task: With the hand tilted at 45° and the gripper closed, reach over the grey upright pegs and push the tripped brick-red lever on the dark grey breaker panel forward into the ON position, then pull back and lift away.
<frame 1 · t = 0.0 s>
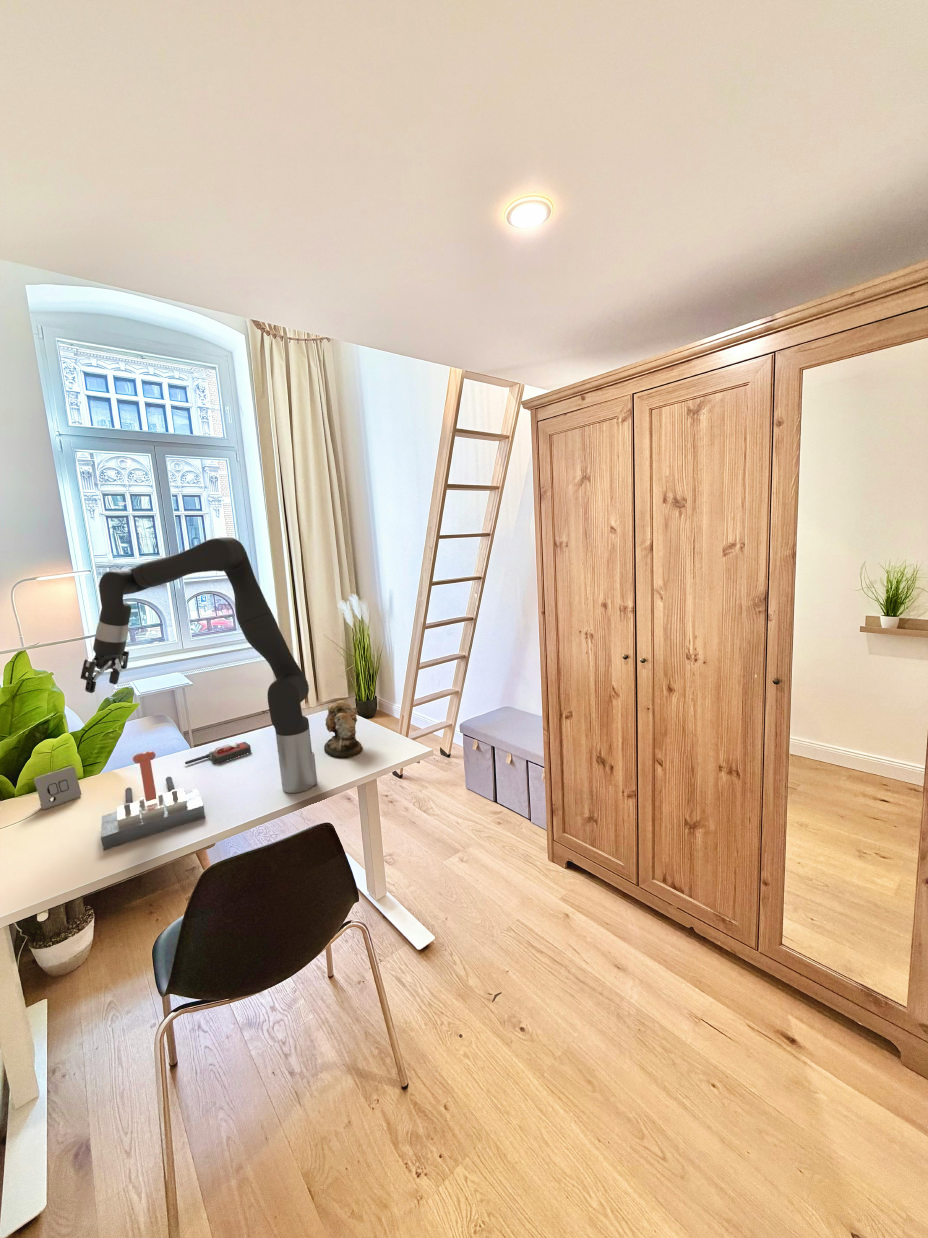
hand: (101, 687, 147), 31 cm above the table, tool tilted 20°, fingers open, 8 cm apart
electrical switch: (59, 802, 145), on the table
brown figurine: (342, 749, 172), on the table
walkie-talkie: (220, 760, 170), on the table
grey upright pegs: (150, 794, 144), on the table
breaker panel: (155, 823, 131), on the table
breaker lever: (147, 776, 130), point 13 cm above the table, hinge at -12.0°
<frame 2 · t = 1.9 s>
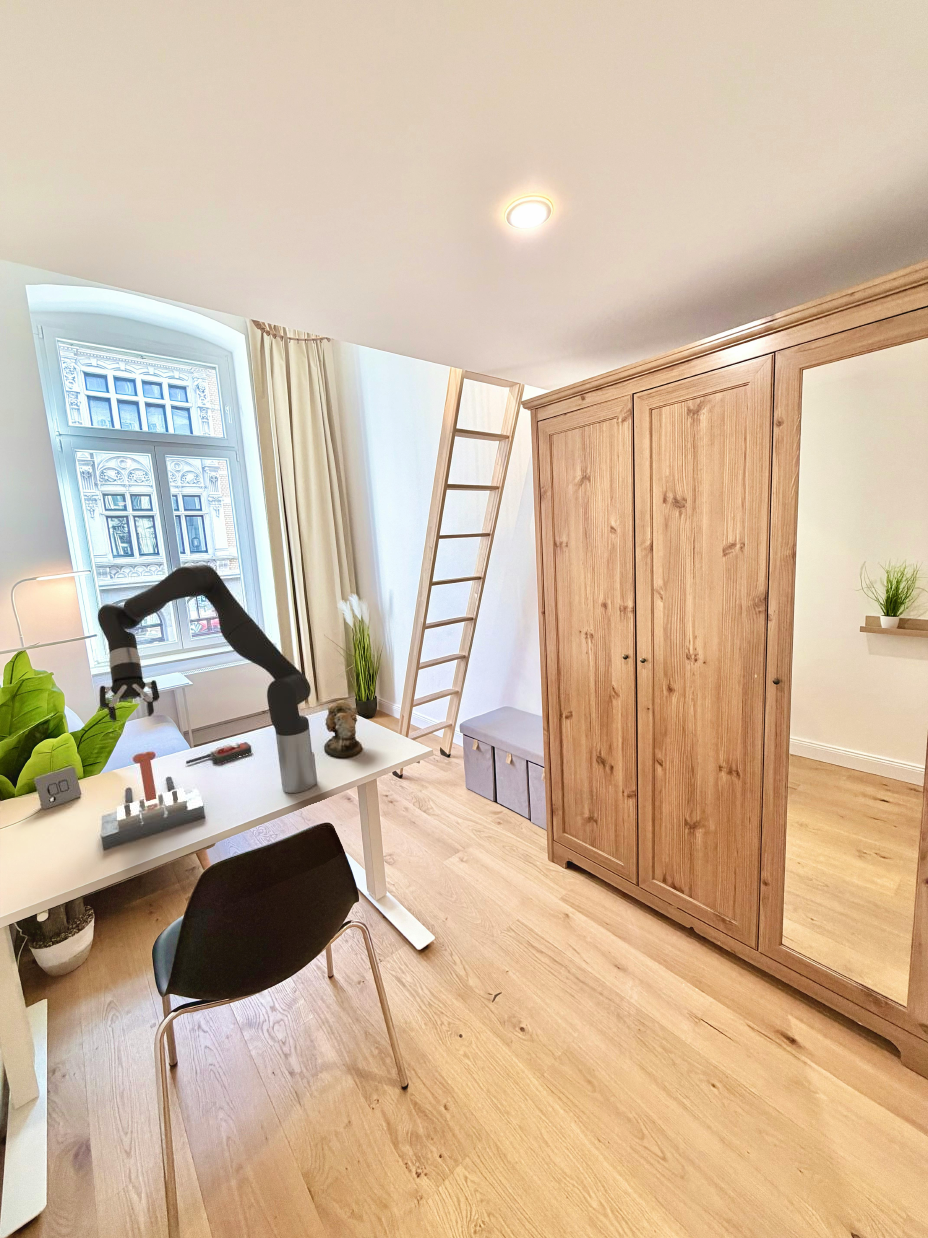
hand: (132, 718, 143), 23 cm above the table, tool tilted 30°, fingers open, 8 cm apart
nothing on the table moved.
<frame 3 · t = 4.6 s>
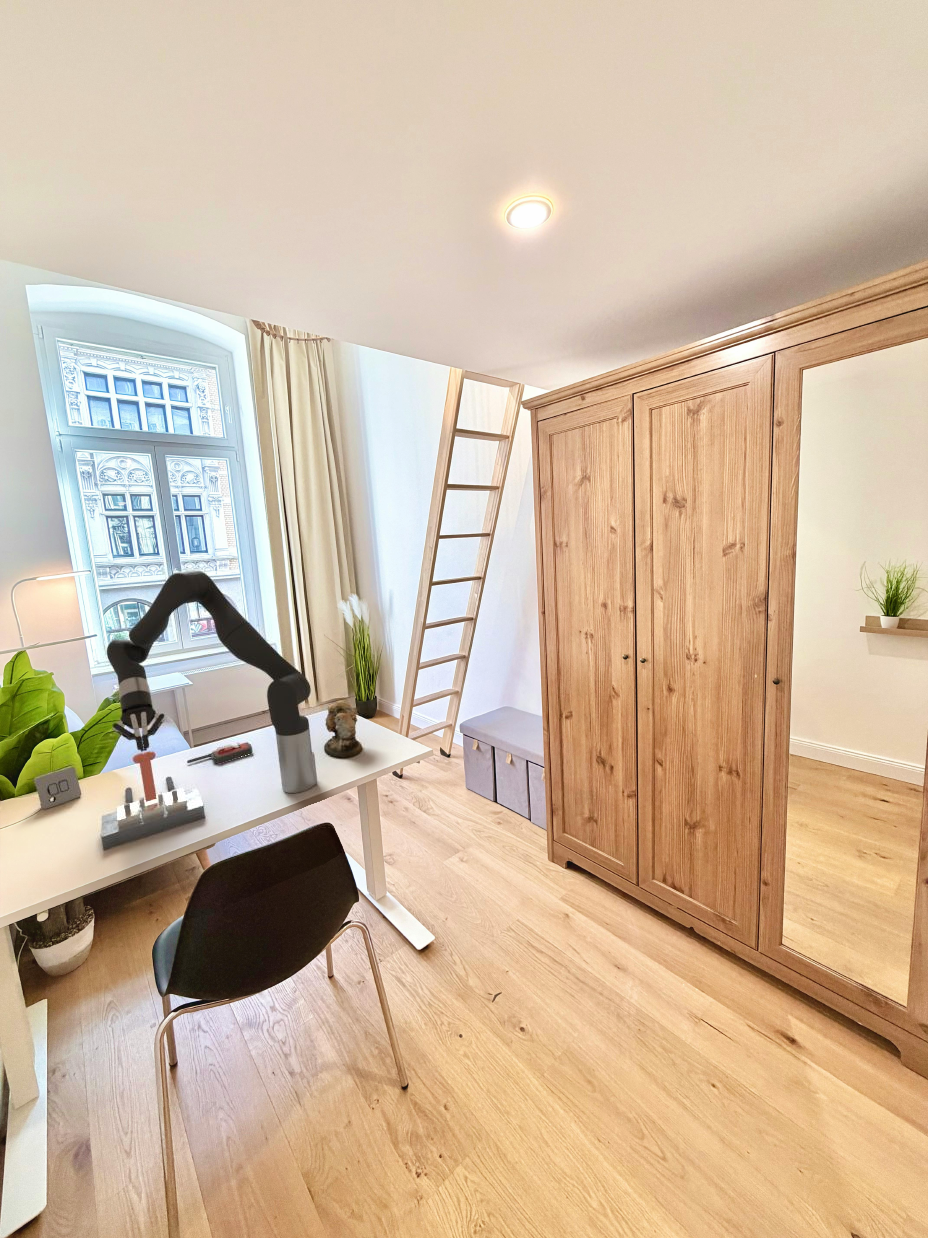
hand: (143, 749, 137), 17 cm above the table, tool tilted 45°, fingers closed
nothing on the table moved.
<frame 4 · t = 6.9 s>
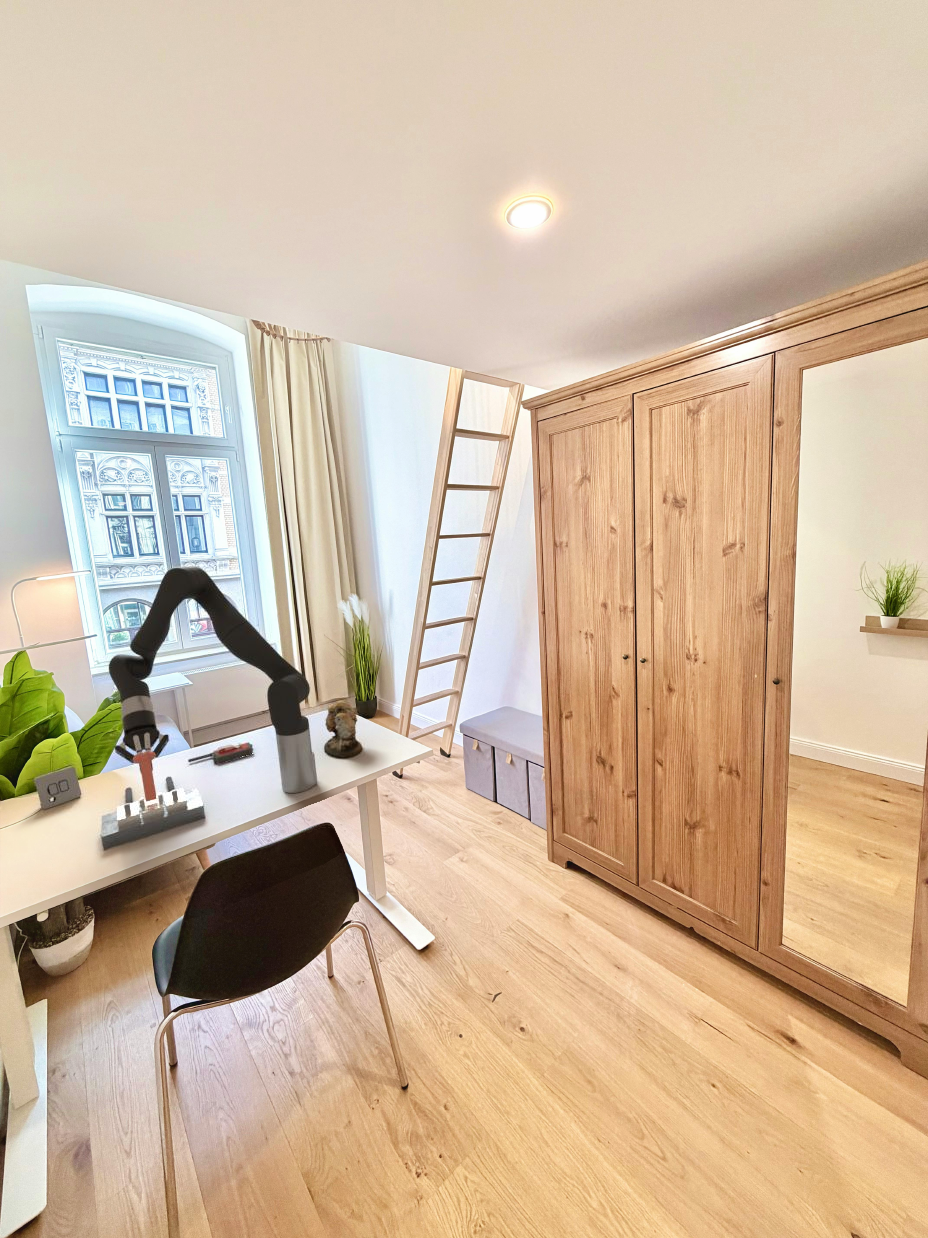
hand: (147, 773, 131), 13 cm above the table, tool tilted 45°, fingers closed
breaker lever: (147, 776, 130), point 13 cm above the table, hinge at -11.3°, touching gripper
everything else where it was.
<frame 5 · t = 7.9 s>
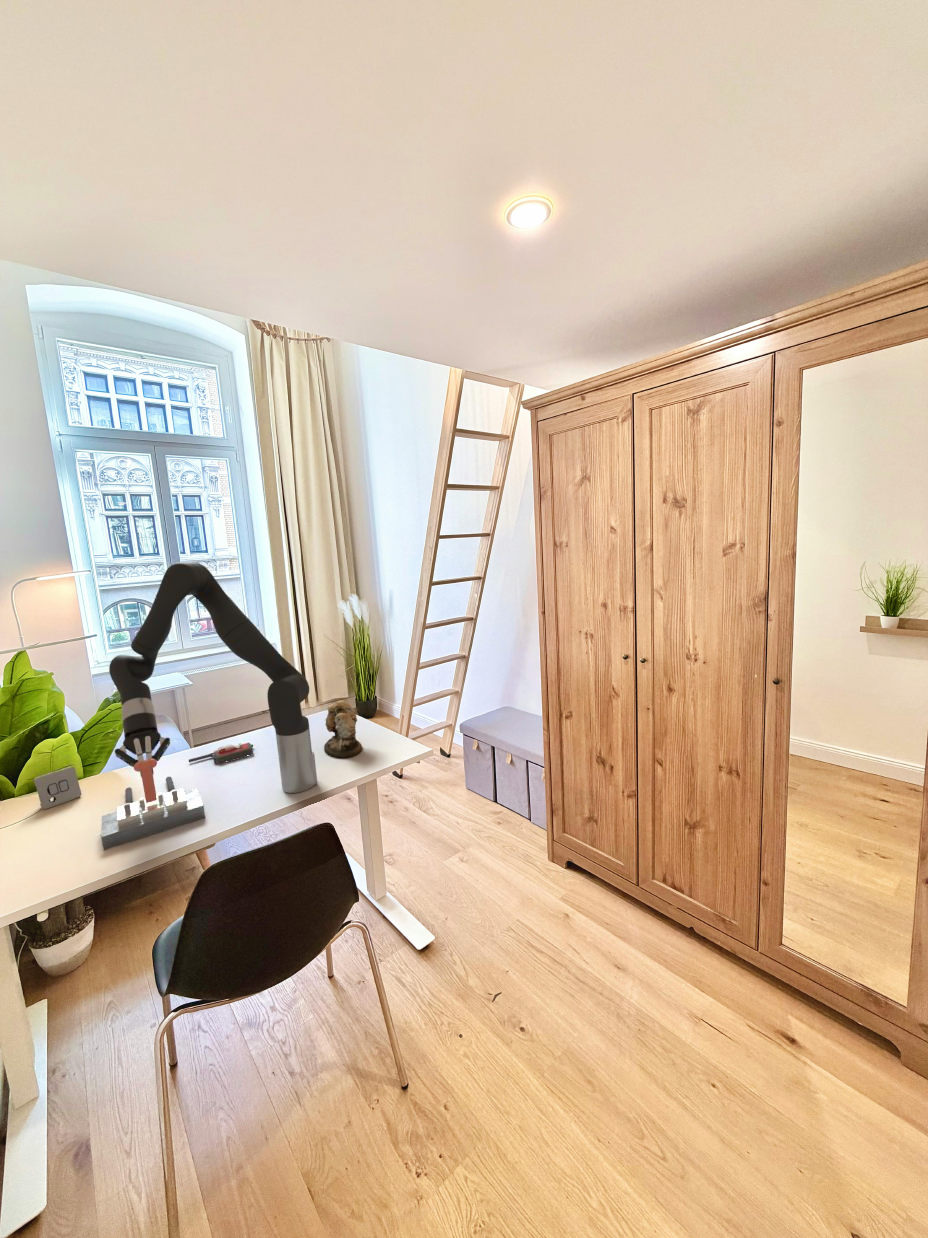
hand: (147, 777, 128), 13 cm above the table, tool tilted 45°, fingers closed
breaker lever: (148, 781, 127), point 12 cm above the table, hinge at 16.3°, touching gripper
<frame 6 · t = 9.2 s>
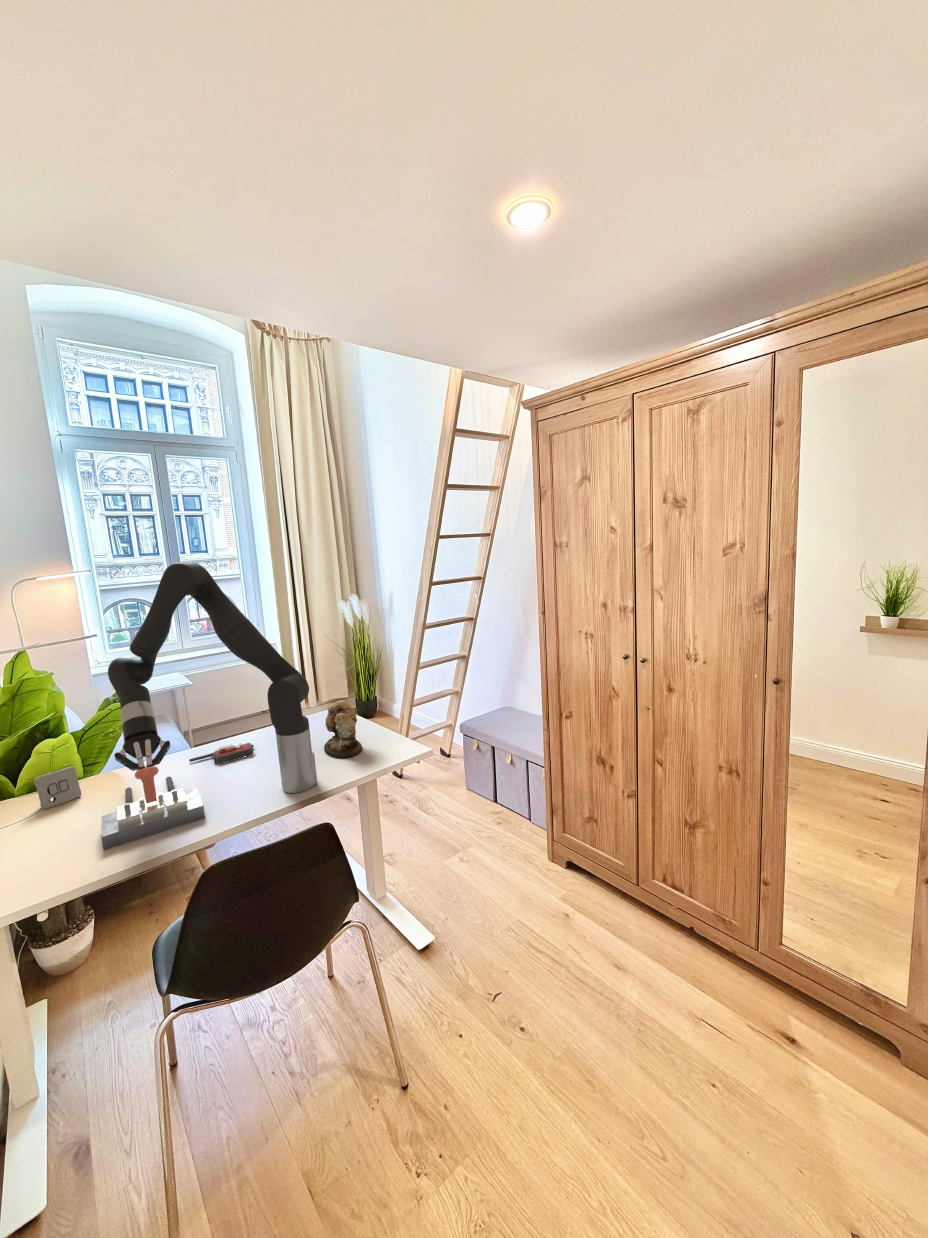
hand: (148, 781, 127), 13 cm above the table, tool tilted 45°, fingers closed
breaker lever: (148, 785, 126), point 12 cm above the table, hinge at 30.3°, touching gripper
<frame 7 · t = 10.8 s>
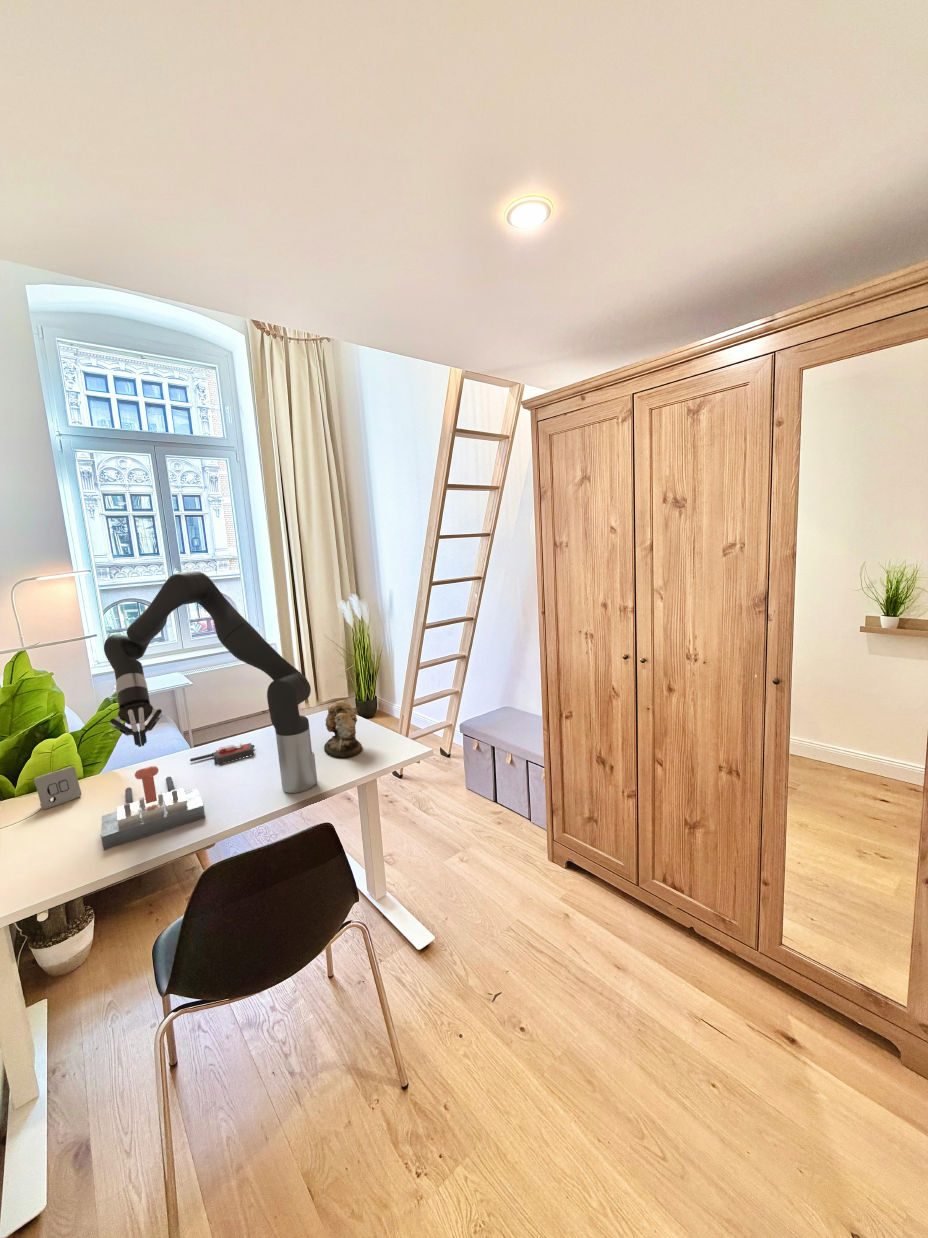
hand: (141, 745, 138), 18 cm above the table, tool tilted 45°, fingers closed
breaker lever: (148, 785, 126), point 12 cm above the table, hinge at 30.3°
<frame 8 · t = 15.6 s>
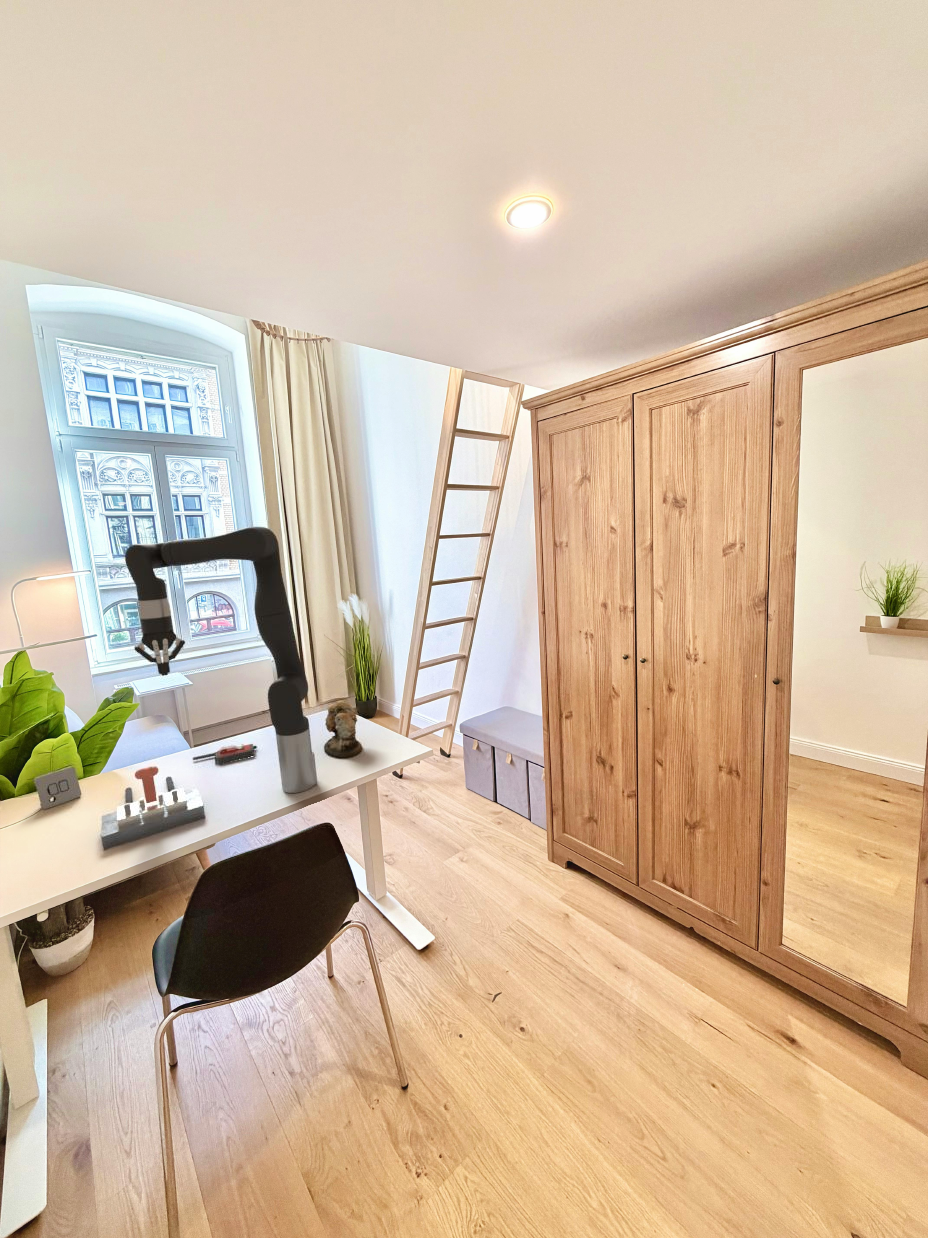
hand: (164, 674, 144), 35 cm above the table, tool pointing down, fingers closed
at the end: breaker lever at +30° (first picture: -12°) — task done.
